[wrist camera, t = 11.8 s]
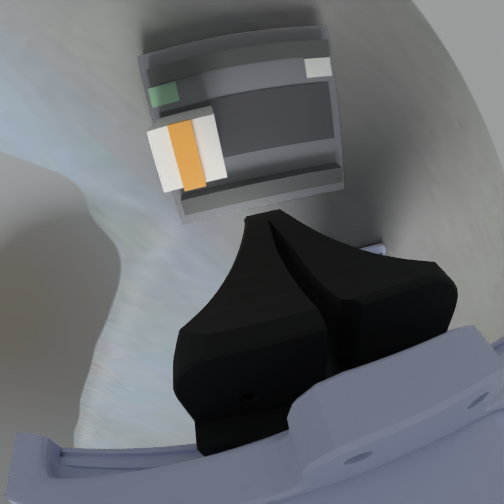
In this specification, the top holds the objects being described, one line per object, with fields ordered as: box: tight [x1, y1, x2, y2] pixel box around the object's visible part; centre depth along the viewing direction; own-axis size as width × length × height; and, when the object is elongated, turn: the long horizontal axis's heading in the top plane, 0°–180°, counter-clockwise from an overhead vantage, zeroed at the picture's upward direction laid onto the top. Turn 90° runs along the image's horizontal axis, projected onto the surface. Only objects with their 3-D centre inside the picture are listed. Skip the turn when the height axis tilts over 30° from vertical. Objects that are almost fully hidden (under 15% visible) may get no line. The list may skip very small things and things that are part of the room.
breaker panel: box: [137, 25, 344, 224], centre depth 18 cm, size 11×11×3 cm
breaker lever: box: [147, 105, 227, 193], centre depth 15 cm, size 3×3×5 cm
